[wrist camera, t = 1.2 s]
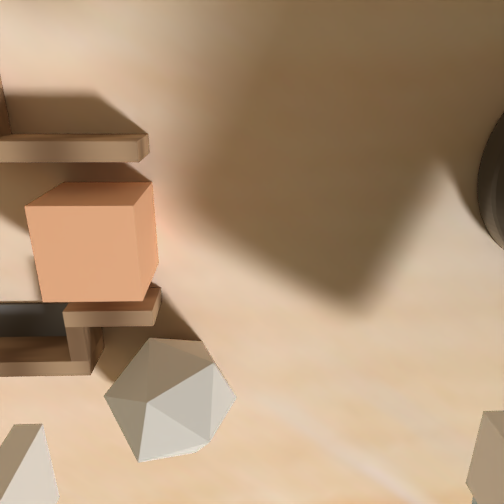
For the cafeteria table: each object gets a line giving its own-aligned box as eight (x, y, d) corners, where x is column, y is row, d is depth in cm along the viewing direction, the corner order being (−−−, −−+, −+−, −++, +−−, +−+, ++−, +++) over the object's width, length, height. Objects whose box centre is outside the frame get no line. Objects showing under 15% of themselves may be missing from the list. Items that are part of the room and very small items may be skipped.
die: (147, 411, 38) (208, 498, 32) (67, 388, 32) (123, 490, 25) (205, 335, 39) (277, 404, 32) (138, 297, 32) (211, 374, 26)
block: (152, 181, 30) (133, 205, 24) (158, 262, 32) (142, 301, 27) (63, 182, 30) (24, 206, 24) (76, 263, 32) (42, 302, 27)
